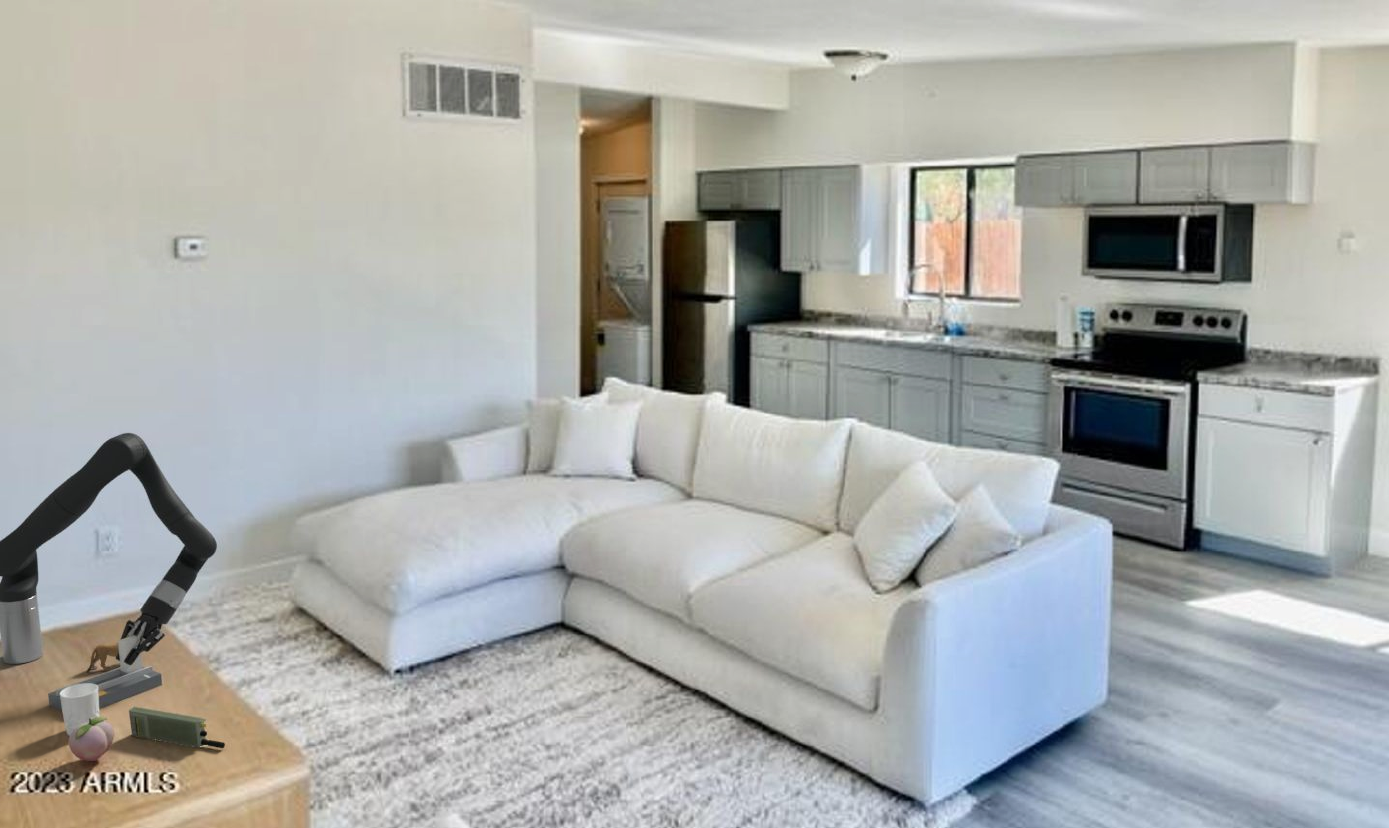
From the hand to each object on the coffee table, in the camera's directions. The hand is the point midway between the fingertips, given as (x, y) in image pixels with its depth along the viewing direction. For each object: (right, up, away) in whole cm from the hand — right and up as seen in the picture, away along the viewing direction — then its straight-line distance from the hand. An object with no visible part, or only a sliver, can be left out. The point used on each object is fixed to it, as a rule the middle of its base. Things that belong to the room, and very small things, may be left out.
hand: (123, 661), depth 286 cm
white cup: (+2, -11, -22) cm, 24 cm away
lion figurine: (-9, -4, +15) cm, 18 cm away
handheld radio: (+26, -13, -27) cm, 39 cm away
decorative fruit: (+11, -14, -36) cm, 40 cm away
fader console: (-3, -8, -3) cm, 8 cm away
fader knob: (+1, -3, +2) cm, 4 cm away
